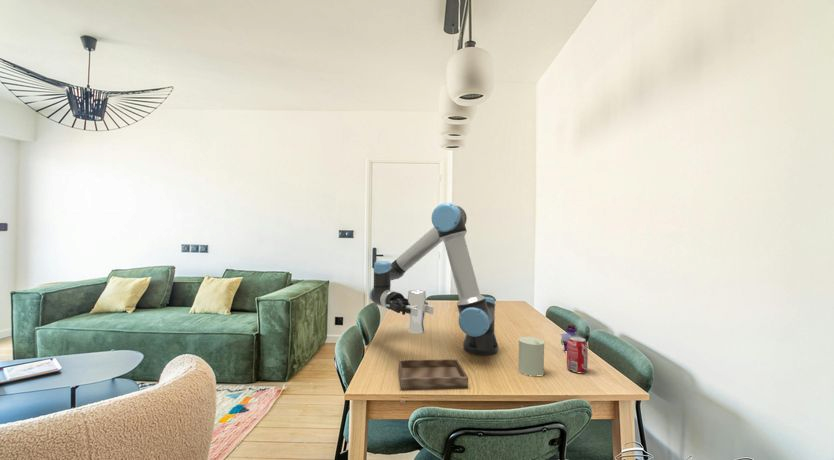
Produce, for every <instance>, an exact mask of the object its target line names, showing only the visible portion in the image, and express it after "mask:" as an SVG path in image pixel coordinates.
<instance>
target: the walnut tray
mask: <svg viewBox="0 0 834 460" xmlns="http://www.w3.org/2000/svg"><path fill="white" fill-rule="evenodd" d="M397 369H398V377H399V387H400V391H417V390H418V391H421V390H424V391H425V390H427V391H428V390H458V389H459V390H461V389H465V390H466V389H469V376H468V375H467V373H466V372H465V369H464V368H463V367H462V365H461V363H460V361H459V360H458V358H454V359H451V358H449V359H446V358H445V359H444V358H443V359H442V358H441V359H401V360H400V359H399V360H398V368H397Z"/></svg>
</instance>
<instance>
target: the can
mask: <svg viewBox="0 0 834 460" xmlns="http://www.w3.org/2000/svg"><path fill="white" fill-rule="evenodd" d="M517 371H518V372H519V373H520V372H521V373H520V374H522V373H523V374H522V375H524V374H526V375H525V376H527V375H531V376H530V377H532V376H537V375H542V374H544V375H545V341H544V340H543V339H541V338H538V337H533V336H520V337H519V338H518V367H517Z"/></svg>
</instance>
